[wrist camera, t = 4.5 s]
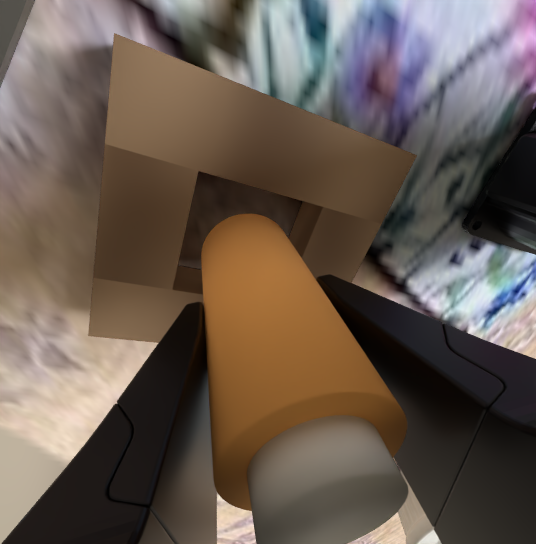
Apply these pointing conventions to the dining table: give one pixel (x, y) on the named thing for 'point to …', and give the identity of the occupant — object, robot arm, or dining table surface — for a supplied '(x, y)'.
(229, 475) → the orange cylinder
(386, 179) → the brown square frame
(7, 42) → the strip
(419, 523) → the ramekin
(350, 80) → the dining table surface
